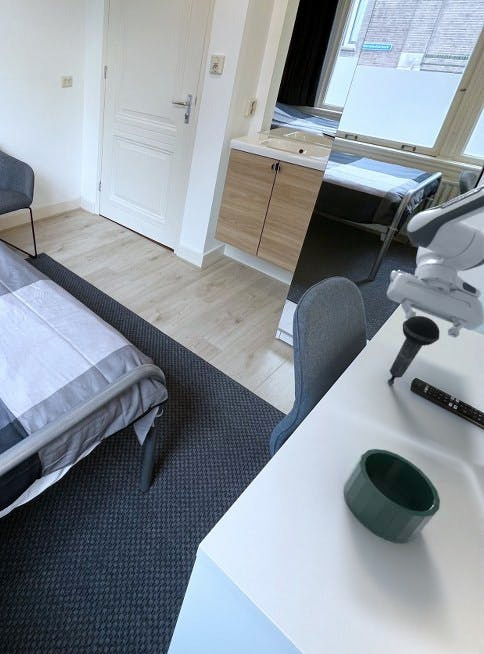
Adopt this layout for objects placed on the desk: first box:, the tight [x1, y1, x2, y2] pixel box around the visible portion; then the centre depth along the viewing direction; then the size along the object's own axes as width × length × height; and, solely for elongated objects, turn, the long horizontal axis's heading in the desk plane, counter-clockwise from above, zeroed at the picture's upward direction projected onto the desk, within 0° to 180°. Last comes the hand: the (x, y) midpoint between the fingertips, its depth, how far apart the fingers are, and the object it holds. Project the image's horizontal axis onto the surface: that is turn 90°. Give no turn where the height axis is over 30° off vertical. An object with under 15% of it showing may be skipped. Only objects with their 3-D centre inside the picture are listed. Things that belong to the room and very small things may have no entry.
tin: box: [343, 448, 441, 544], centre depth 73 cm, size 12×12×8 cm
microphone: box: [387, 315, 441, 386], centre depth 98 cm, size 7×7×20 cm
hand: (431, 326), depth 103 cm, fingers open, 8 cm apart
